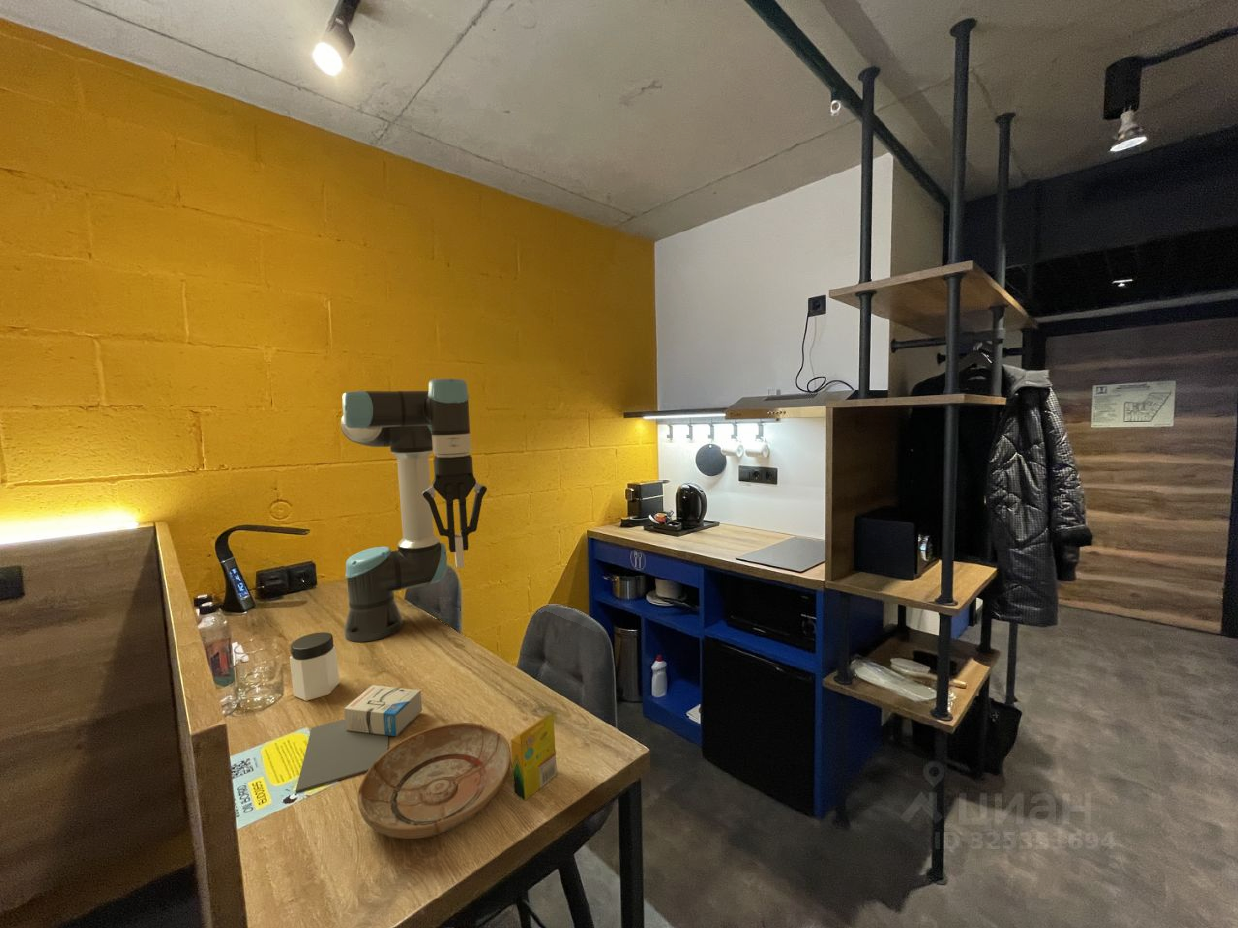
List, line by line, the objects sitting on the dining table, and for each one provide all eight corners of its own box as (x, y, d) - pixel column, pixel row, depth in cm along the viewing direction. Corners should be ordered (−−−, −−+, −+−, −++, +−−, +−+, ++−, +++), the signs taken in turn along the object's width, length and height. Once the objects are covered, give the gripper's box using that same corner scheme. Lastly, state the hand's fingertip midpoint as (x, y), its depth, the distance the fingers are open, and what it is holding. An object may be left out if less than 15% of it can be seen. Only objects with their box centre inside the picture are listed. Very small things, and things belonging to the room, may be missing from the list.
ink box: (395, 714, 94) (342, 707, 97) (397, 738, 95) (344, 731, 97) (421, 688, 103) (371, 683, 105) (422, 710, 103) (373, 704, 106)
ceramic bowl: (403, 746, 93) (401, 721, 93) (525, 746, 93) (524, 721, 92) (327, 858, 70) (324, 826, 70) (489, 859, 70) (487, 827, 69)
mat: (311, 729, 99) (311, 727, 99) (388, 709, 104) (388, 708, 104) (295, 792, 82) (295, 790, 82) (387, 765, 88) (387, 763, 88)
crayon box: (546, 767, 87) (543, 705, 85) (558, 774, 85) (555, 712, 84) (513, 793, 81) (509, 728, 80) (524, 801, 79) (521, 735, 78)
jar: (310, 679, 117) (305, 631, 115) (345, 677, 117) (340, 630, 116) (286, 702, 108) (280, 650, 107) (324, 700, 108) (318, 649, 107)
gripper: (419, 458, 95) (428, 576, 97) (488, 454, 100) (494, 566, 103) (417, 455, 101) (425, 565, 104) (482, 451, 107) (488, 556, 110)
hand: (459, 565), depth 104 cm, fingers closed
